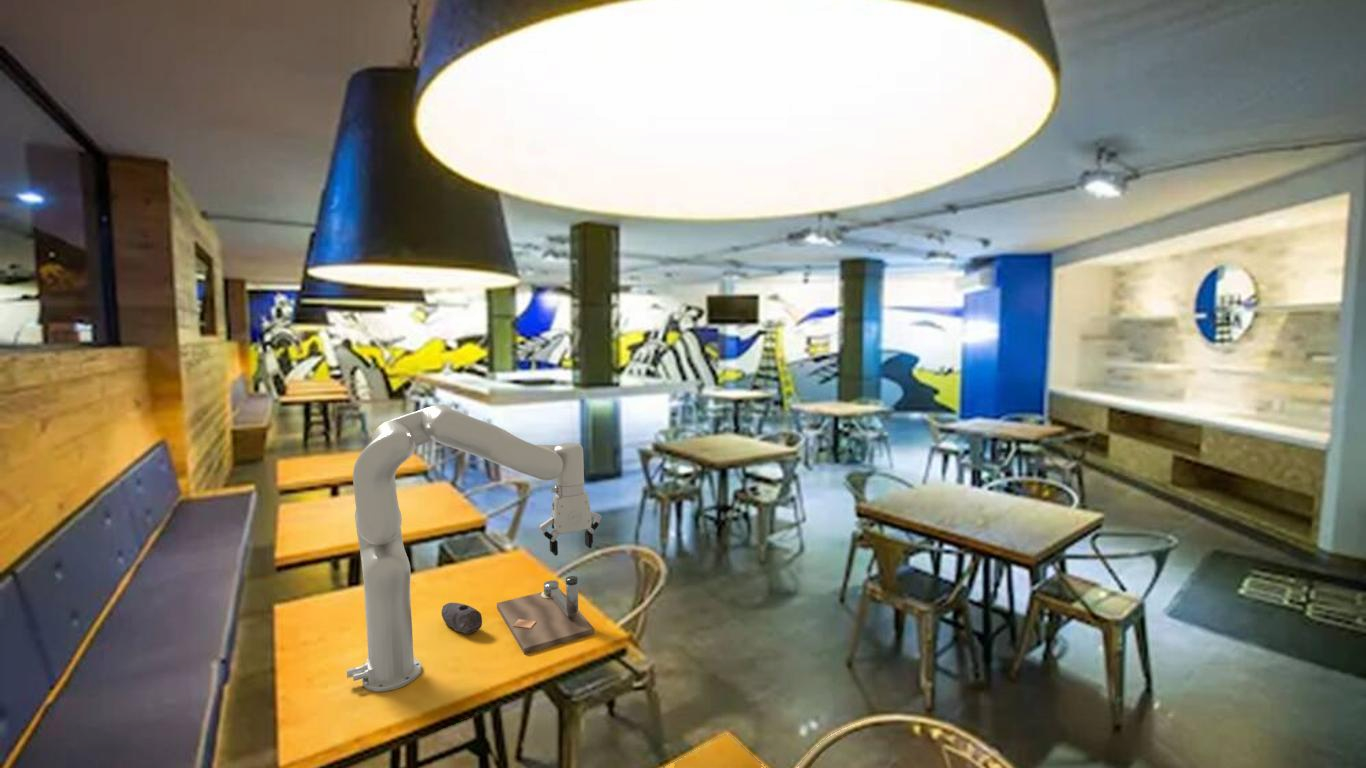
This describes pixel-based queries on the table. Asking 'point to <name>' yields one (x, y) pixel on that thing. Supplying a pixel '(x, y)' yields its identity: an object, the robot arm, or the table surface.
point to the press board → (541, 622)
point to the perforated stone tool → (462, 617)
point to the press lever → (565, 603)
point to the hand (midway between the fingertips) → (571, 550)
